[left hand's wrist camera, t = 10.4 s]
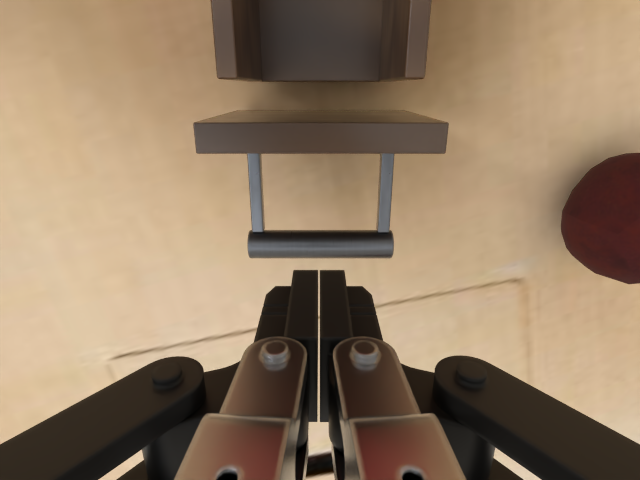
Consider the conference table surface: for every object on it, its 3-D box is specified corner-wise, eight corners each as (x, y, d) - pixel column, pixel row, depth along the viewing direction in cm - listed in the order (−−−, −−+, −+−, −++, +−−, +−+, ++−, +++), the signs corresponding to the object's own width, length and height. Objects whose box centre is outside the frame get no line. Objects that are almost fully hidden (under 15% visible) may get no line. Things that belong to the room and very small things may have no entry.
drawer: (396, 225, 27) (431, 288, 18) (244, 225, 27) (210, 288, 18) (427, -220, 19) (511, -458, 11) (214, -220, 19) (131, -459, 11)
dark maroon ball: (676, 207, 27) (791, 246, 21) (570, 274, 29) (644, 329, 22) (629, 118, 25) (739, 129, 19) (518, 196, 27) (583, 231, 20)
